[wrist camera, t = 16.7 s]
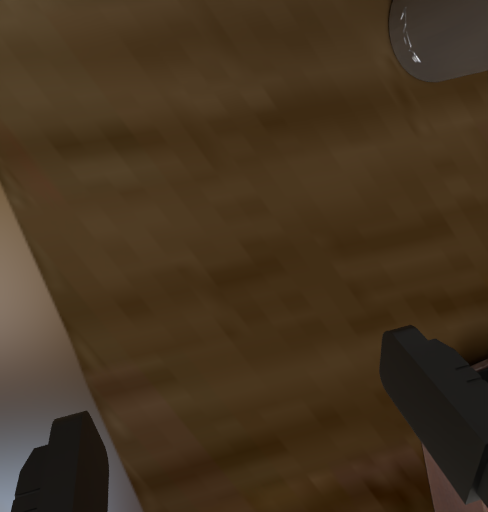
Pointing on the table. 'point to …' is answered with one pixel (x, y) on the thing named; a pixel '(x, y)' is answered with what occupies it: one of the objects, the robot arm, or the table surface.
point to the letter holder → (443, 494)
